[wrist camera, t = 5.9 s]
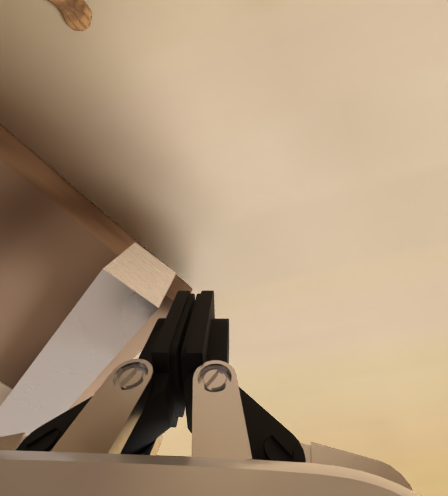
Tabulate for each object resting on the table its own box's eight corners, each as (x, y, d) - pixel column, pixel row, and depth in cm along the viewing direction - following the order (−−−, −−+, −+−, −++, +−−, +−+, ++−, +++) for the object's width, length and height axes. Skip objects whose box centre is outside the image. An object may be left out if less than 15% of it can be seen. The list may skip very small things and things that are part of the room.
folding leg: (31, 439, 16) (-12, 497, 13) (-3, 421, 16) (-54, 478, 13) (176, 273, 12) (158, 307, 9) (135, 242, 11) (102, 268, 8)
